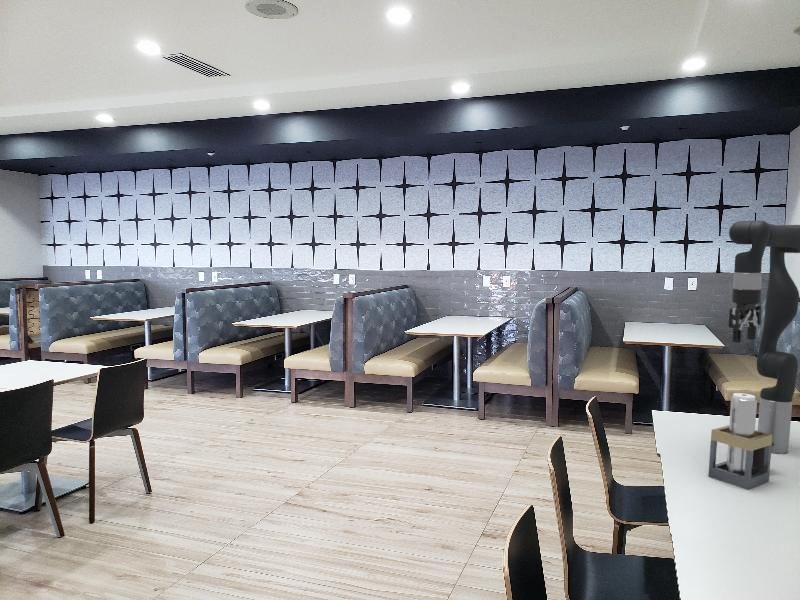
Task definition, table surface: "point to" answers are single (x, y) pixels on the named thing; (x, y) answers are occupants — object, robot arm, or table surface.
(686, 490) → the table surface
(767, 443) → the collar stand
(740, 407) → the silver metal cylinder
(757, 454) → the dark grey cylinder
